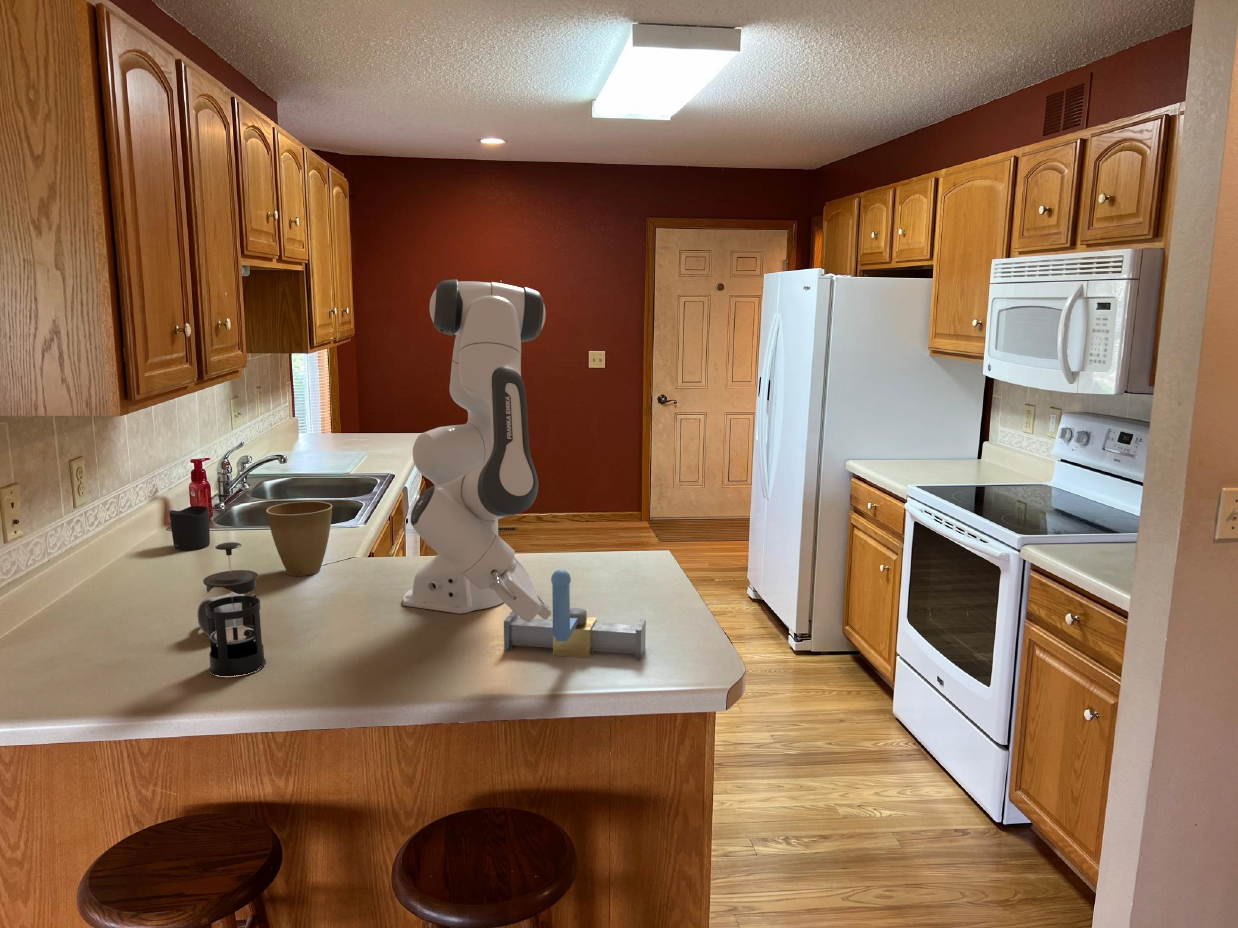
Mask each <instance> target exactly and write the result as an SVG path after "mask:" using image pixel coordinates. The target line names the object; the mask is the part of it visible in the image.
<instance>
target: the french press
mask: <svg viewBox="0 0 1238 928" xmlns="http://www.w3.org/2000/svg"><path fill="white" fill-rule="evenodd" d="M240 547H242V544H241V543H240V542H233V541H230V542H228V541H227V542H223V543H220V544H217V545H216V546H215V549H216V550H220V551H225V555H226V556H227V558H228V561H227V562H228V570H227V571H220V572H216V573H213V574H210V575H208V576H206V577H204V578H203V580H202V583H203V585H205V587H206V594H208V593H209V592H211V590H212V589H214V588H223V589H225V590H228V591H230V593H231V597H225V598H221V599H217V600H215V601H212V602H210V603H208V604H207V605H206V607H205V609H206V616H207V617H208V623H209V634H210V637H209V644H210V651H209V653H208V654H209V655H208V656H209V664H210V665H209V666H210V667H209V669H208V670H209V671H210V672H211V673H212V674H214V675H219V676H234V675H235V676H236V675H243V674H248V673H251V672H254V671H257V670H258V669H260V668H262V667H264V665H265V664H266V665H267V661H266V658H265V649H264V644H263V640H262V639H263V638H262V627H261V614H260V610H261V600H260V598H258V597H257V594H254V593H251V592H252V591H254V590H256V589H257V580H258V578H259V574H258V573H257V572H256V571H253V570H246V569H245V570H244V569H238V570H237V569H235V570H232V562H231V559H232V558H231V556H232V555H233V553H232V551H233V550H234V549H235V550H236V549H239V548H240ZM233 593H237V594H245V595H244V596H233ZM234 603H242V610H241V611H235V609H234ZM226 604H232V611H233V612H214V608H216V607H219V606H222V605H226ZM238 618H243V625H239V626H236V622H235V619H238ZM231 619H233V624H234V626H231V627H227V628H226V623H225V620H231ZM215 622H216V628H215ZM266 665H265V666H266ZM264 668H265V667H264ZM210 672H209V673H210Z"/></svg>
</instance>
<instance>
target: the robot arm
mask: <svg viewBox="0 0 1238 928" xmlns="http://www.w3.org/2000/svg"><path fill="white" fill-rule="evenodd" d="M429 315H430V318H431V320H432V323H433V324H432V326H433V327H434V329H436V330H437V331H438V332H440V333H442V334H445V335H448V336H452V337H453V336H454V335H455V339H454V345H453V351H452V358H451V368H450V381H449V388H448V389H449V394H450V397H451V398H452V400H453V402H454V403H456V404H457V405H458V406H459V407H460V408H463V409H464V410H466V411H467V422H466V423H464V424H456V425H446V426H439V427H438V426H437V427H436V428H433V429H429V430H427V431H424V432H421V433H420V434H419V435H418V436H417V438H416V439H415V441H414V443H413V447H412V460H413V463H414V466H415V468H416V469H417V470H418V472H419V473H420V474H421V475H422V476H423V477H425V478H426V479H428V480H429V481H430V482H431V483H432V484H433V485H432V486H429V487H428V488H427V489H426V490H424V492H423V493H422V494H421V495H420V497H418V499H417V501H416V503H415V504H414V506H413V508H412V510H411V514H410V523H411V526H412V528H413V530H414V531H415V532H416V534H417V535H418V536H419V537H420V538H421V539H422V540H423V541H424V542H425V543H426V544H427V545H428V546H429V547H430V548H431V549H433V550H434V552H436V553H437V554H436V555H435V556H434V557H432V558H431V559H430V560H429V561H428V562H427V563H425V564H424V565H423V566H422V567H420V568H419V569H418V570H417V572H416V574H415V575H414V578H413V584H412V587H411V588H410V589H409V590H407V591H406V592H405V593H404V594H403V597H402V604H403V606H405V607H406V606H407V607H411V608H412V607H413V608H420V609H427V610H434V611H440V612H447V613H453V614H466V613H470V612H473V611H476V610H477V611H478V610H483V609H489V608H493V607H496V606H499V605H501V604H503V603H504V604H505V605H506V606H507V607H509V608H510V610H512V611H514V612H515V613H516V614H517V615H518V617H519V618H521V619H523V620H524V621H526V622H530V621H531V620H532V619H533V618H534V619H535V617H537V615H538V616H539V617H540V618H541V619H545V620H546V619H549V618H550V616H551V615H552V610H551V609H550V606H549V605H548V604H547V603H546V602H545V601H544V600H543V599H542V598H541V597H540V596H539V595H538V593H537V591H536V589H535V586H534V585H533V582H532V580H531V577H530V574H529V573H528V571H527V569H525V567H524V566H523V565H522V564H521V563H520V561H519V560H518V559H517V558H515V555H516V551H515V549H513V548H512V547H511V545H509V544H508V542H505V540H504V539H503V538H502V537H501V536H500V535H499V520H500V519H503V518H505V517H509V516H515V515H520V514H522V513H524V512H526V511H527V510H528V509H530V507H532V505H533V504H534V502H535V501H536V499H537V495H538V492H539V478H538V474H537V471H536V468H535V464H534V462H533V458H532V455H531V448H530V436H529V419H528V416H529V415H528V403H527V393H526V387H525V383H524V380H523V378H522V370H521V368H522V367H521V365H522V343H524V342H526V343H527V342H530V341H534V340H535V339H536V338H537V337H539V336H540V333H541V331H542V330H543V327H544V325H545V323H546V306H545V302H544V297H542V295H541V294H540V292H539V291H537V290H534V289H533V288H529V287H526V286H523V287H518V286H515V285H511V284H506V283H501V282H495V281H491V282H488V281H474V280H473V281H467V280H466V281H463V280H461V281H458V279H448V280H441V281H440V282H439V283H438V284H437V285H436V287H435V289H434V290H433V293H432V295H431V297H430V300H429Z"/></svg>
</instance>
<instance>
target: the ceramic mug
mask: <svg viewBox="0 0 1238 928" xmlns="http://www.w3.org/2000/svg"><path fill="white" fill-rule="evenodd" d="M245 594H246V593H245ZM245 594H237V593H234V592H233V596H244V595H245ZM225 597H231V592H230V593H226V594H223V595H219V596H214V597H210V598H206V599H204V600H202V601H201V602H200V604H199V605H198V608H197V613H196V615H197V623H198V625H199V627H200V629H201V631H202V632H203V633H204V634H205V635H206V636H208V637H209V636H210V634H209V623H208V617H207V616H206V609H205V607H206V605H207V604H208V603H210V602H212V601H215V600H217V599H221V598H225ZM234 609H235V611H241V610H242V603H234ZM214 612H233V611H232V604H226V605H222V606H219V607H216V608H214ZM235 622H236V626H239V625H243V618H238V619H235ZM225 623H226V628H227V627H231V626H234V624H233V619H231V620H225ZM215 628H216V622H215Z"/></svg>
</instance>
